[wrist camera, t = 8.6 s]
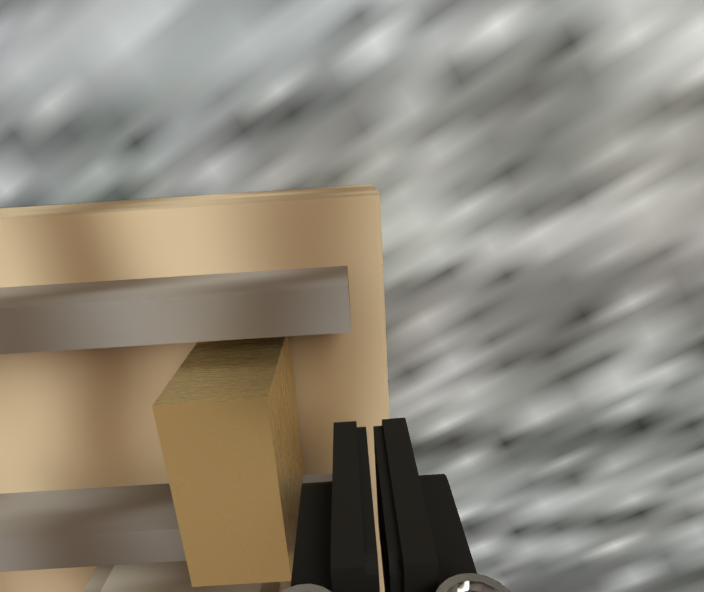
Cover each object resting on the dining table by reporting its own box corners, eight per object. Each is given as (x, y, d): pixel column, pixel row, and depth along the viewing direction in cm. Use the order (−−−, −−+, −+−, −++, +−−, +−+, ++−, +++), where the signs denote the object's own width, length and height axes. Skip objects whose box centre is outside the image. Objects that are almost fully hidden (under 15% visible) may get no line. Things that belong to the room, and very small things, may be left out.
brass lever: (288, 326, 14) (266, 398, 10) (304, 471, 15) (291, 581, 12) (205, 331, 14) (152, 405, 10) (229, 475, 15) (192, 587, 12)
